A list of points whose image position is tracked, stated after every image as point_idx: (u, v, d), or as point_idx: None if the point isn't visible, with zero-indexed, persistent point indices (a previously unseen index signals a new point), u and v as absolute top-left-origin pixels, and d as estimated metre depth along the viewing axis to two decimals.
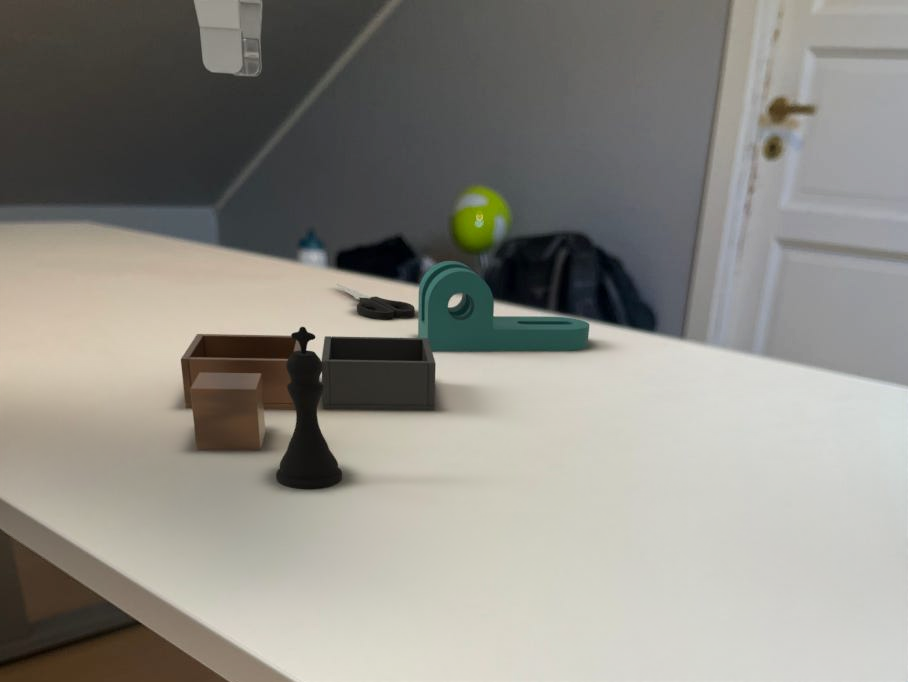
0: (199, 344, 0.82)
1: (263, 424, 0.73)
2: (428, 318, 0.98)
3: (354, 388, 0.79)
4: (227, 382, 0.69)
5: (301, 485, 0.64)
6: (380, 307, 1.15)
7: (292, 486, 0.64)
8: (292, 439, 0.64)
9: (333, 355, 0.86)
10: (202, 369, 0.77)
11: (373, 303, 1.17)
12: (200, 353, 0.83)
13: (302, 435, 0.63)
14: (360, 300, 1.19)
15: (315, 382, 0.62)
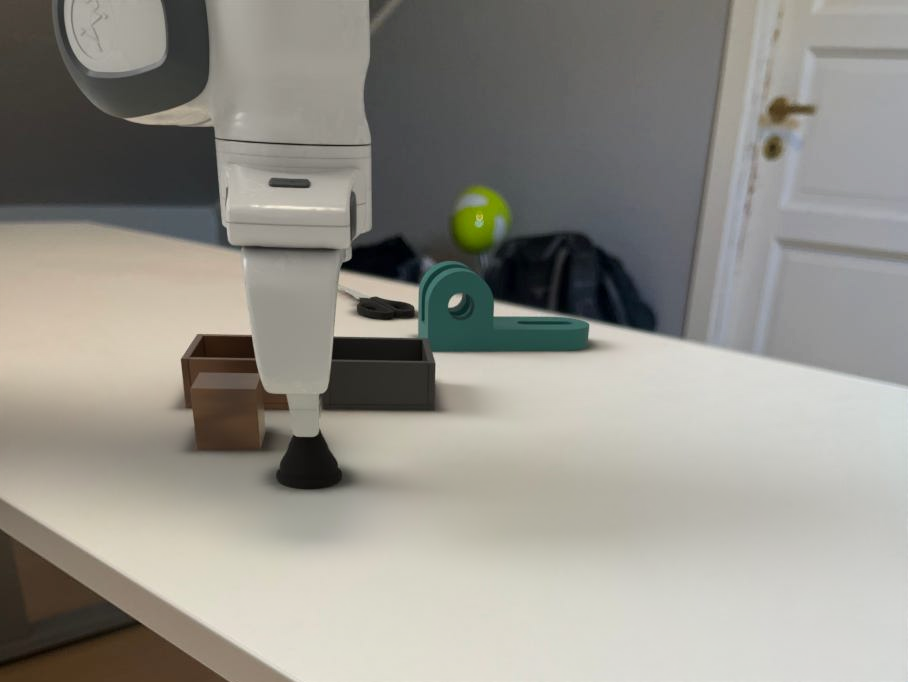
0: (199, 344, 0.82)
1: (263, 424, 0.73)
2: (428, 318, 0.98)
3: (354, 388, 0.79)
4: (227, 382, 0.69)
5: (301, 485, 0.64)
6: (380, 307, 1.15)
7: (292, 486, 0.64)
8: (292, 439, 0.64)
9: (333, 355, 0.86)
10: (202, 369, 0.77)
11: (373, 303, 1.17)
12: (200, 353, 0.83)
13: None
14: (360, 300, 1.19)
15: None
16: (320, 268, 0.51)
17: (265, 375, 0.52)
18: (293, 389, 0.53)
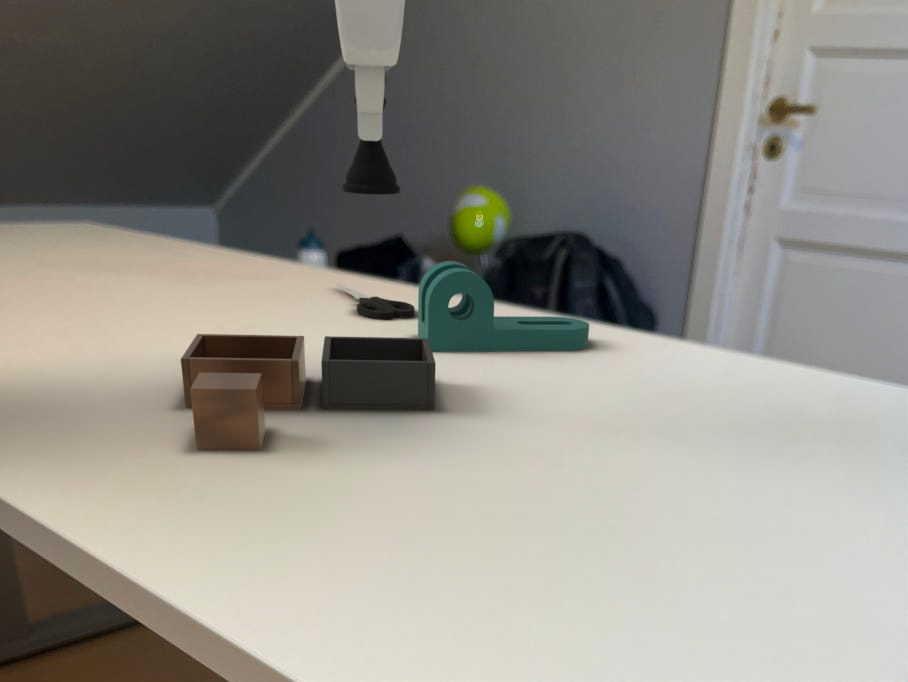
0: (199, 344, 0.82)
1: (263, 424, 0.73)
2: (428, 318, 0.98)
3: (354, 388, 0.79)
4: (227, 382, 0.69)
5: (366, 189, 0.73)
6: (380, 307, 1.15)
7: (358, 191, 0.73)
8: (357, 150, 0.73)
9: (333, 355, 0.86)
10: (202, 369, 0.77)
11: (373, 303, 1.17)
12: (200, 353, 0.83)
13: (367, 145, 0.73)
14: (360, 300, 1.19)
15: None
16: None
17: (346, 42, 0.61)
18: (369, 57, 0.62)
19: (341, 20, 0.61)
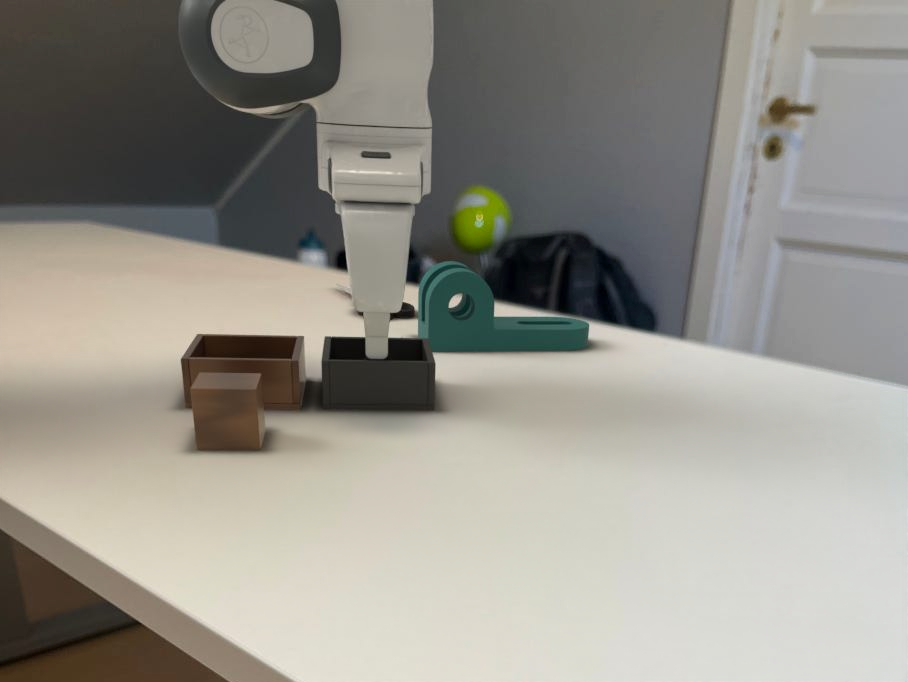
0: (199, 344, 0.82)
1: (263, 424, 0.73)
2: (429, 318, 0.98)
3: (354, 388, 0.79)
4: (227, 382, 0.69)
5: None
6: None
7: None
8: (366, 357, 0.82)
9: (333, 355, 0.86)
10: (202, 369, 0.77)
11: None
12: (200, 353, 0.83)
13: None
14: None
15: None
16: (399, 217, 0.69)
17: (357, 297, 0.71)
18: (377, 308, 0.72)
19: (352, 280, 0.70)
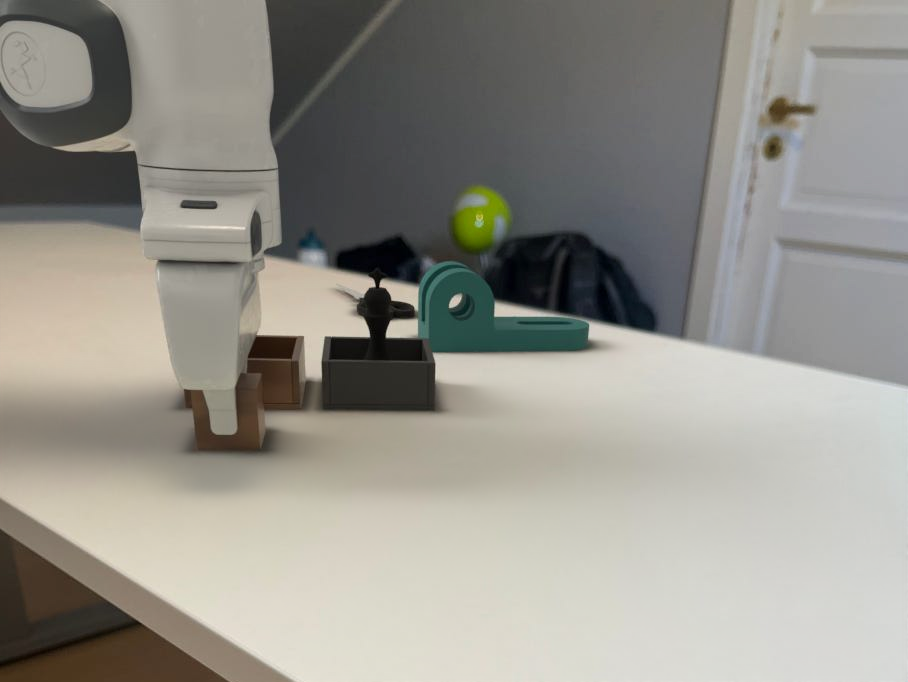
0: None
1: (263, 424, 0.73)
2: (429, 319, 0.98)
3: (354, 388, 0.79)
4: None
5: None
6: None
7: None
8: (366, 357, 0.82)
9: (333, 355, 0.86)
10: None
11: None
12: None
13: (374, 353, 0.82)
14: (360, 300, 1.19)
15: (386, 311, 0.81)
16: (225, 279, 0.58)
17: (179, 374, 0.59)
18: (204, 385, 0.60)
19: (172, 354, 0.59)
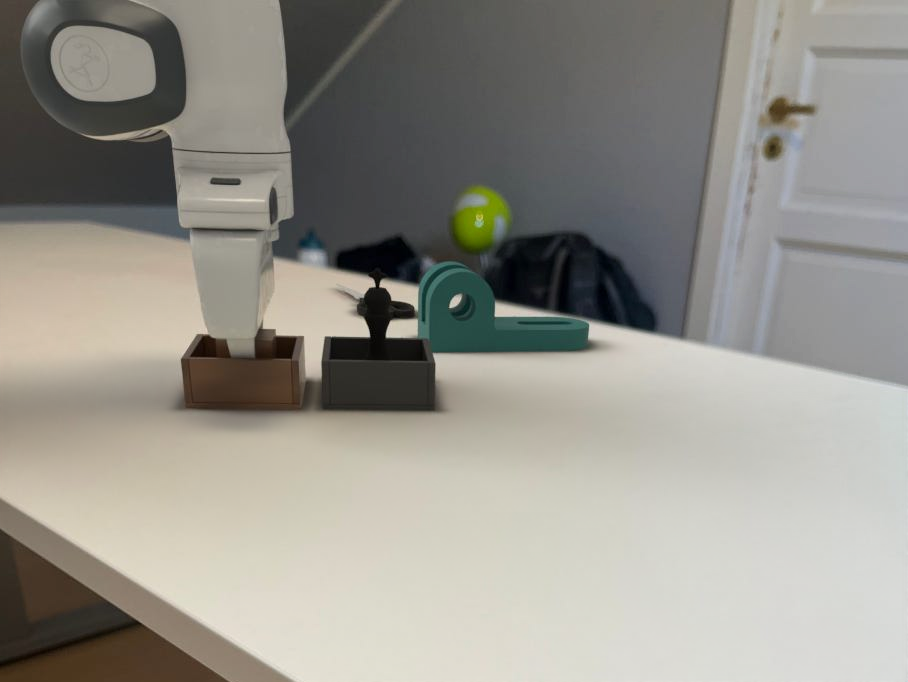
0: (199, 344, 0.82)
1: None
2: (429, 319, 0.98)
3: (354, 388, 0.79)
4: None
5: None
6: None
7: None
8: (366, 357, 0.82)
9: (333, 355, 0.86)
10: (202, 369, 0.77)
11: None
12: (200, 353, 0.83)
13: (374, 353, 0.82)
14: (360, 300, 1.19)
15: (386, 311, 0.81)
16: (248, 243, 0.69)
17: (209, 324, 0.71)
18: (230, 334, 0.71)
19: (203, 307, 0.70)
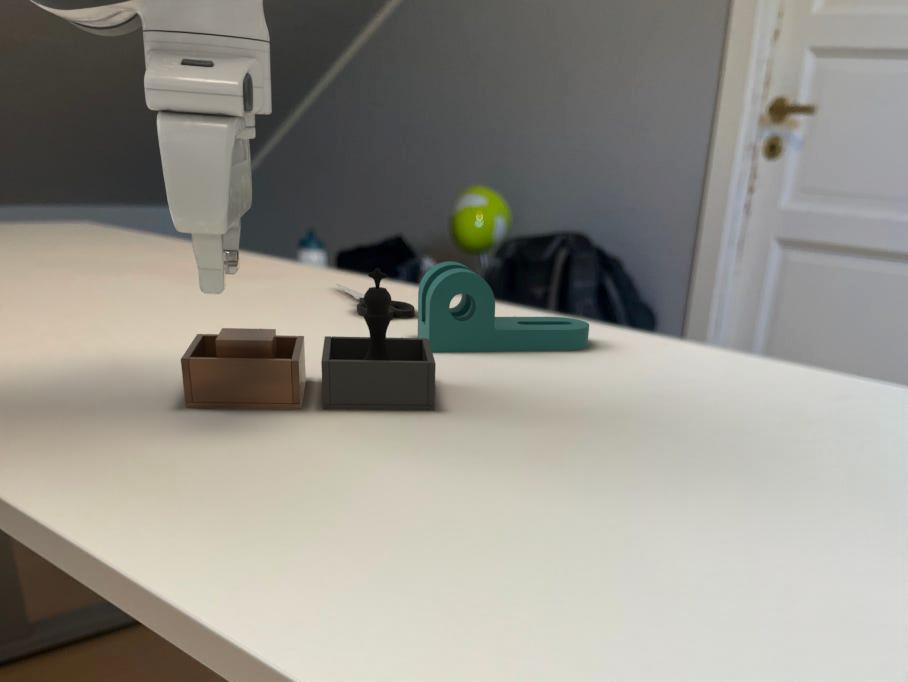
0: (199, 344, 0.82)
1: None
2: (430, 319, 0.98)
3: (354, 388, 0.79)
4: (246, 335, 0.80)
5: None
6: None
7: None
8: (366, 357, 0.82)
9: (333, 355, 0.86)
10: (202, 369, 0.77)
11: None
12: (200, 353, 0.83)
13: (374, 353, 0.82)
14: (360, 300, 1.19)
15: (386, 311, 0.81)
16: (218, 128, 0.65)
17: (175, 215, 0.66)
18: (198, 228, 0.67)
19: (169, 196, 0.66)
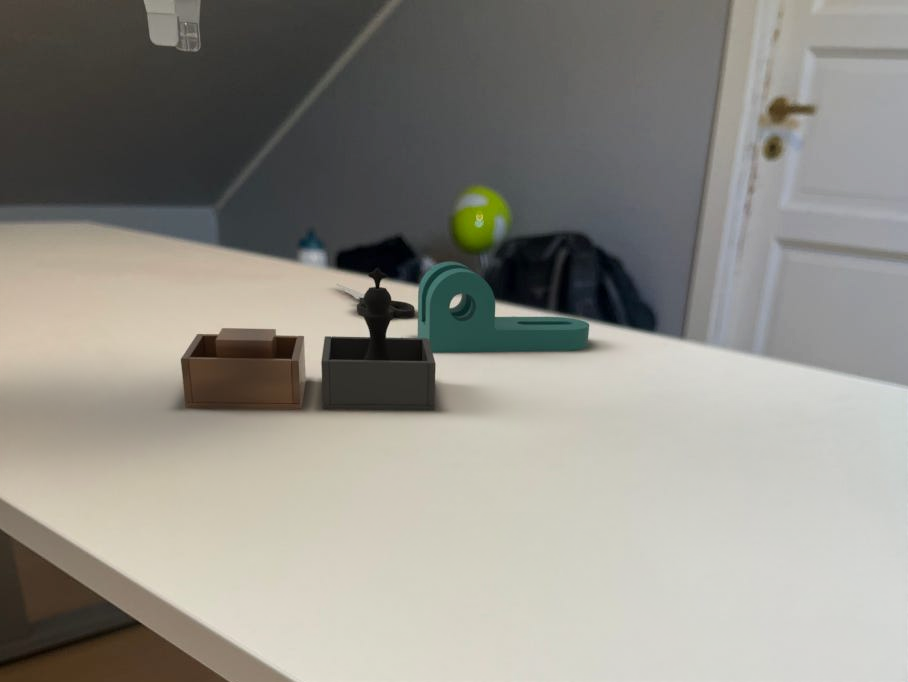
0: (199, 344, 0.82)
1: None
2: (430, 319, 0.98)
3: (354, 388, 0.79)
4: (246, 335, 0.80)
5: None
6: None
7: None
8: (366, 357, 0.82)
9: (333, 355, 0.86)
10: (202, 369, 0.77)
11: None
12: (200, 353, 0.83)
13: (374, 353, 0.82)
14: (360, 300, 1.19)
15: (386, 311, 0.81)
16: None
17: None
18: None
19: None
